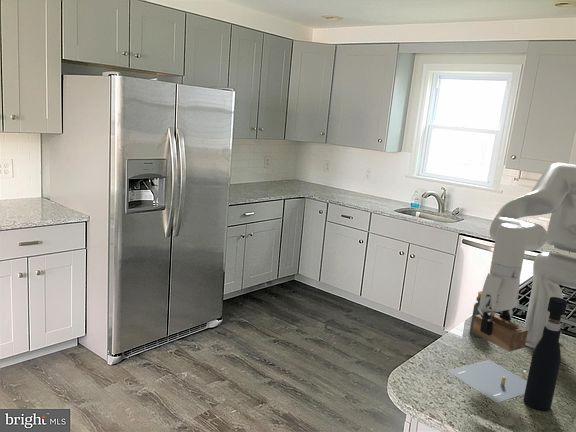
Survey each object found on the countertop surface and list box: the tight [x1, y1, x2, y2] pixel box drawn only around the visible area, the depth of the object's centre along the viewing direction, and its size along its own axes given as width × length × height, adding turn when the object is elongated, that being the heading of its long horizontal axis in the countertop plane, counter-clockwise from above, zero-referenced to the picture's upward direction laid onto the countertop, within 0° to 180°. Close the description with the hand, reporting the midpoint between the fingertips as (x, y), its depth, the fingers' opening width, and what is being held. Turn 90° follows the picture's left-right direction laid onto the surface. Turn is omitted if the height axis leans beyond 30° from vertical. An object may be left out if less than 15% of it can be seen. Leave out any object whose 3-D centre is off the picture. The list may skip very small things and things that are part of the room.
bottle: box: [469, 290, 492, 339], centre depth 169 cm, size 6×6×15 cm
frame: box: [472, 313, 528, 352], centre depth 135 cm, size 6×12×5 cm, turn 29°
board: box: [446, 359, 527, 404], centre depth 139 cm, size 18×17×4 cm
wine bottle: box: [523, 297, 568, 412], centre depth 125 cm, size 6×6×30 cm
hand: (494, 330), depth 137 cm, fingers closed on frame, 6 cm apart
